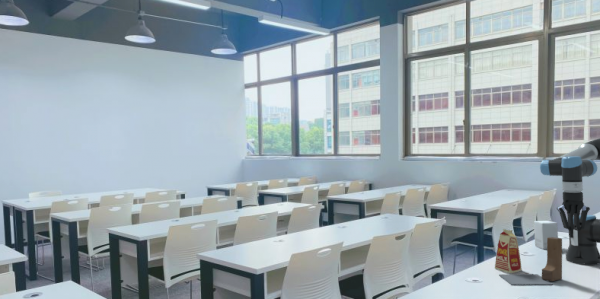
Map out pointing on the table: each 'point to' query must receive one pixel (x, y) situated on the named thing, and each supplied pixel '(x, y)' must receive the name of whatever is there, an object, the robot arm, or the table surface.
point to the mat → (524, 279)
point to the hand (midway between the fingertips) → (574, 244)
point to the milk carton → (508, 253)
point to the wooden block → (553, 260)
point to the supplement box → (544, 232)
